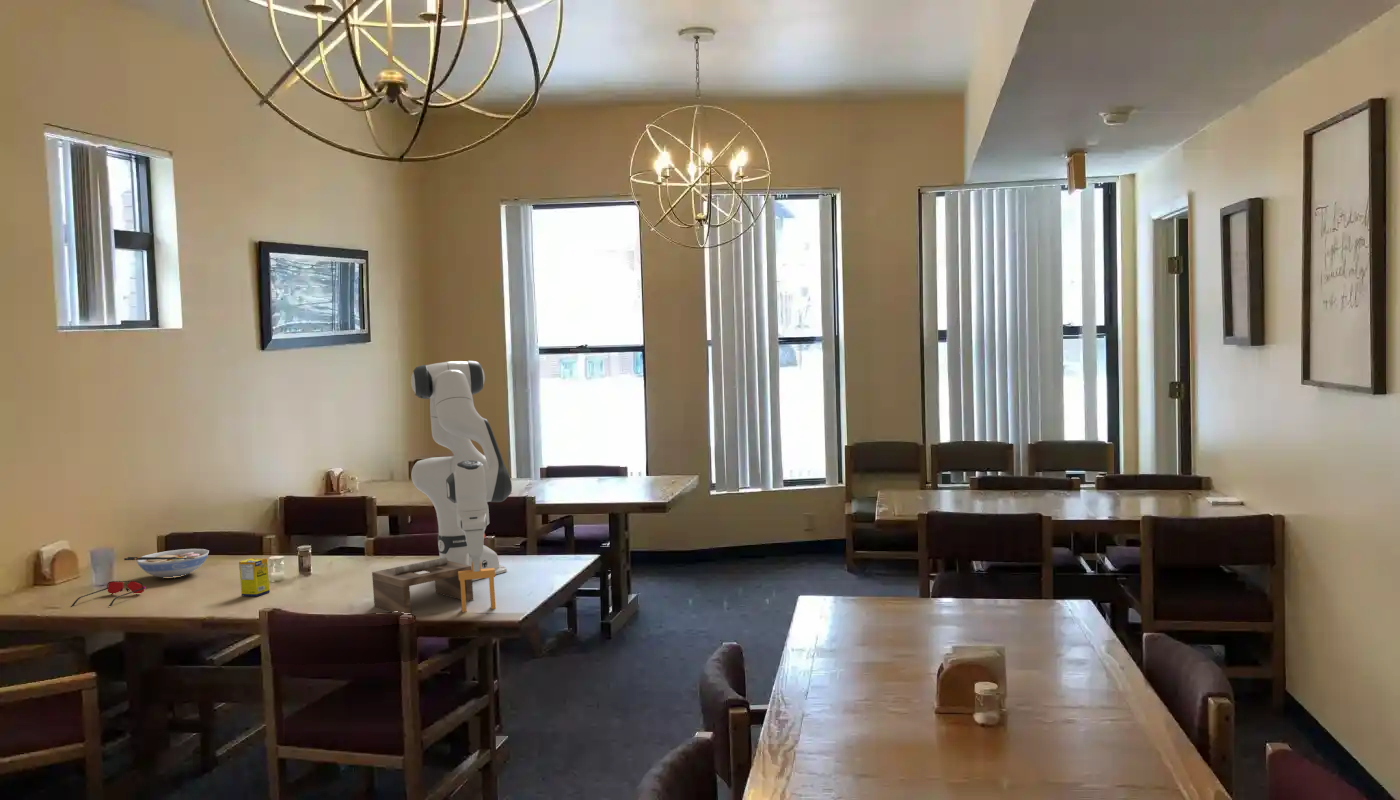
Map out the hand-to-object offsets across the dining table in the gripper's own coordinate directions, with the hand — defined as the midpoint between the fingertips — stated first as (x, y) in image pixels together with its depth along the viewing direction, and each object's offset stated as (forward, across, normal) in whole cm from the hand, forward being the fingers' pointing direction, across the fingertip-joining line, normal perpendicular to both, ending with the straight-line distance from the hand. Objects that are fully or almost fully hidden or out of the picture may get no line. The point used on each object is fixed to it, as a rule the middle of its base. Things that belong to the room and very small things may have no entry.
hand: (476, 567), depth 309 cm
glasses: (+12, -62, -112) cm, 128 cm away
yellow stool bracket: (+12, 0, 0) cm, 12 cm away
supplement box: (+12, -50, -67) cm, 84 cm away
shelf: (+12, -15, -15) cm, 24 cm away
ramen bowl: (+11, -92, -99) cm, 136 cm away
